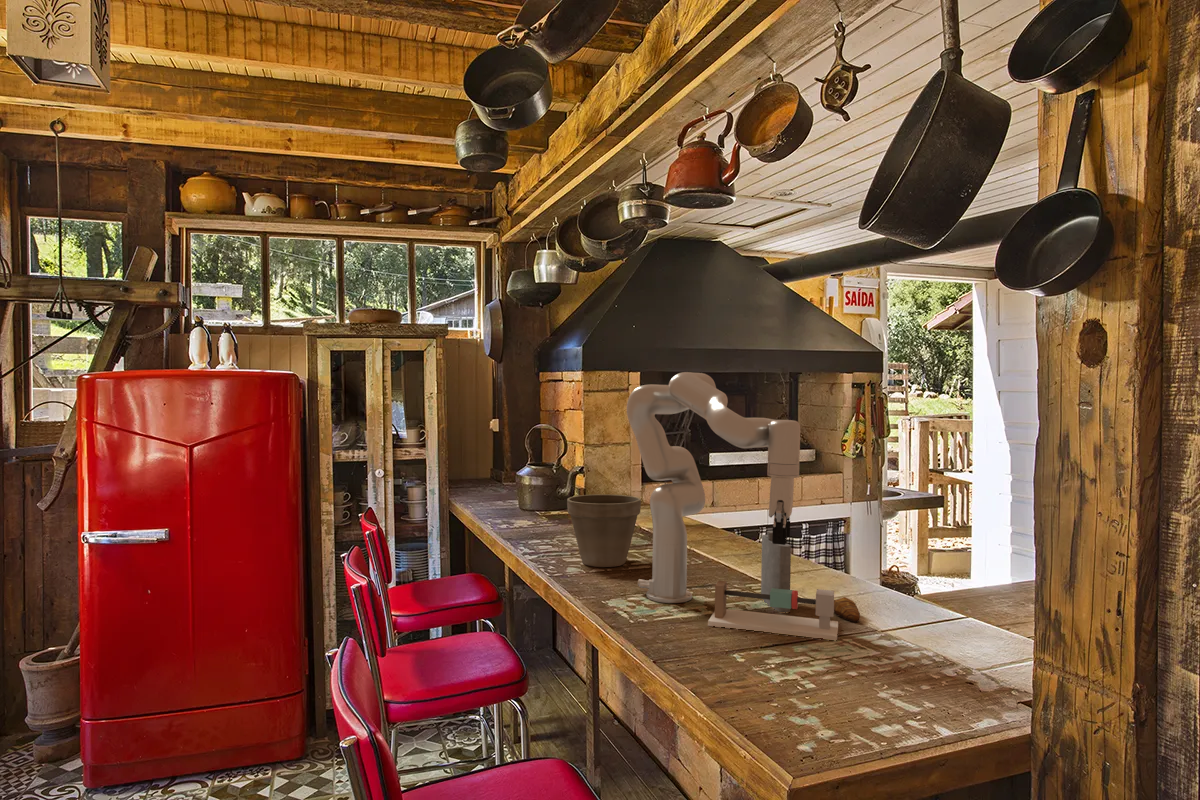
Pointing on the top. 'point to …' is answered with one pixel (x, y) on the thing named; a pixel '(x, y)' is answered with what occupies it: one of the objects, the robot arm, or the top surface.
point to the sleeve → (780, 598)
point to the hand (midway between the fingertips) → (781, 540)
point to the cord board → (777, 622)
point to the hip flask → (775, 567)
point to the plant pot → (603, 527)
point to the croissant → (846, 609)
